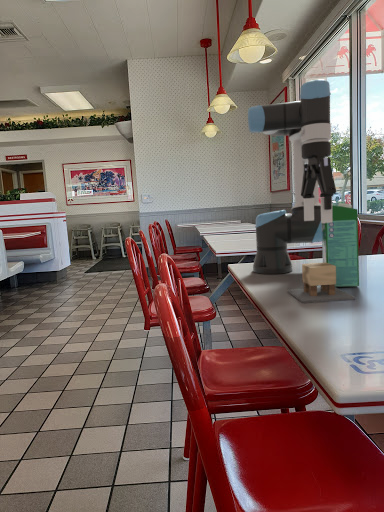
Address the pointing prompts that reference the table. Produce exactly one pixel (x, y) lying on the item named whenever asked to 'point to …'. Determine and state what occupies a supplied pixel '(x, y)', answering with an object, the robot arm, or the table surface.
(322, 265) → the footstool
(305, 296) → the mat
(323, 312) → the table surface
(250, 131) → the robot arm
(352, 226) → the milk carton
